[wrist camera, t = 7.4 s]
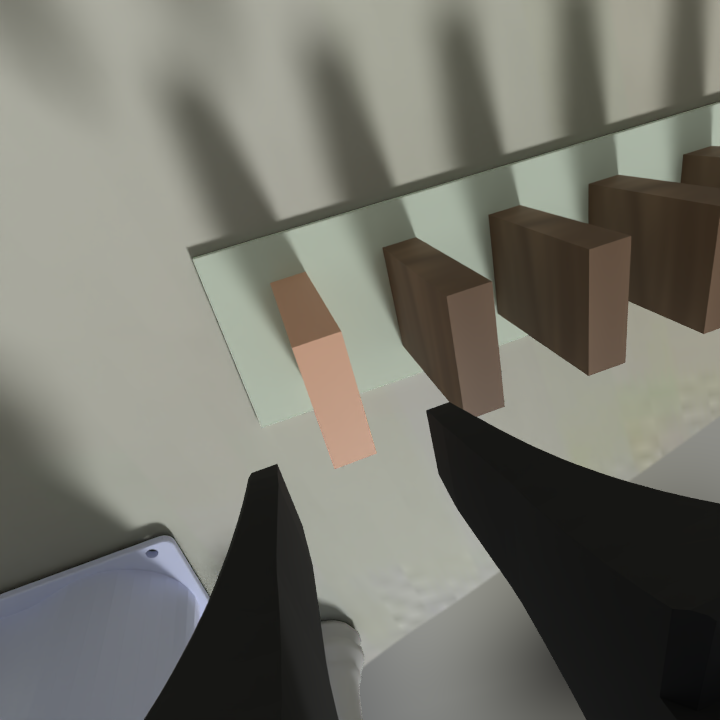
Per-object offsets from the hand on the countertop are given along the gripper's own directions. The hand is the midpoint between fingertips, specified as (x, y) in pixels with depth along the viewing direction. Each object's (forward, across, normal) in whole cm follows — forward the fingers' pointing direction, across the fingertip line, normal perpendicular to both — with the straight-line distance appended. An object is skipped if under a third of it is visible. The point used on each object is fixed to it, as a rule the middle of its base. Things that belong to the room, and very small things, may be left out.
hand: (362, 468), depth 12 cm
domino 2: (+9, -9, 0) cm, 13 cm away
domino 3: (+9, -14, 0) cm, 16 cm away
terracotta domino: (+9, 0, 0) cm, 9 cm away
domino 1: (+9, -4, 0) cm, 10 cm away
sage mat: (+9, -9, 0) cm, 13 cm away
